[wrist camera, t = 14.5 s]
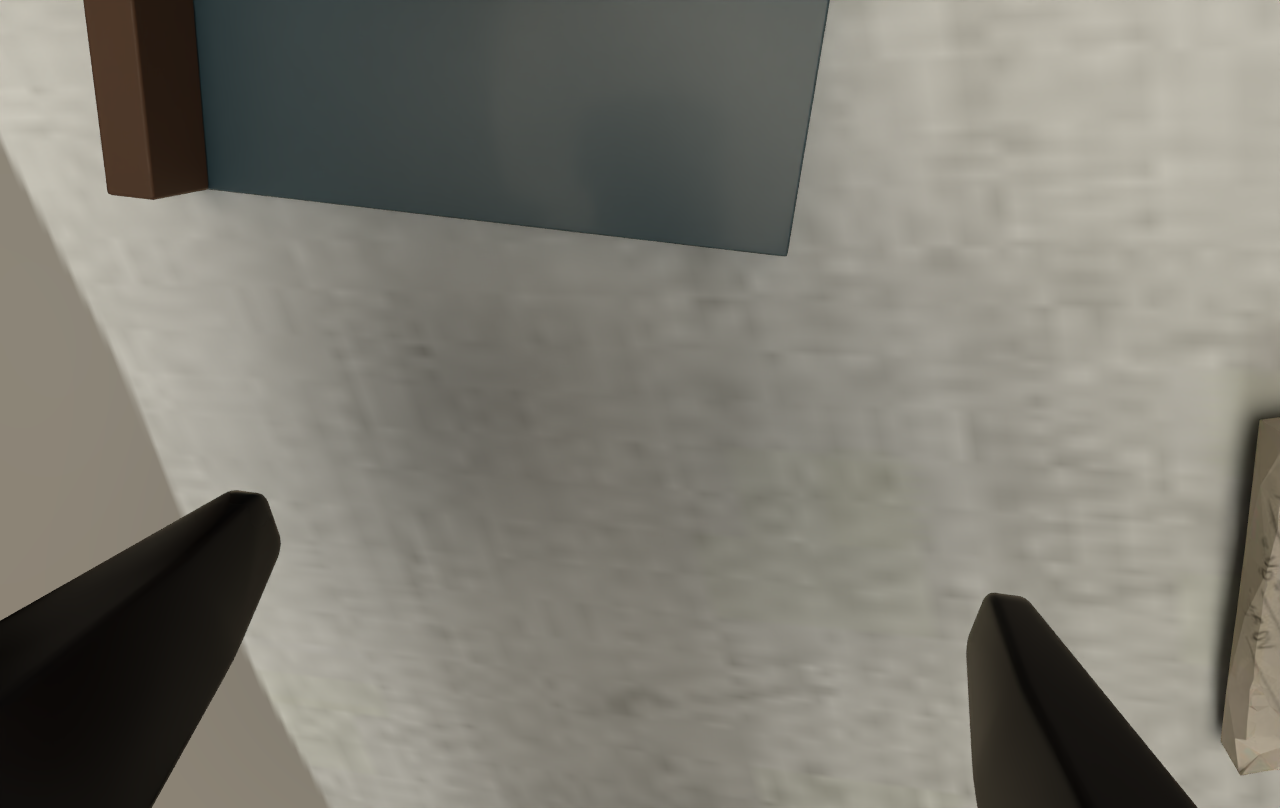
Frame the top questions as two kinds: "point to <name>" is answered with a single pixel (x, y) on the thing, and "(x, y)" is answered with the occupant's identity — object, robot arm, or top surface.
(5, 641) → the robot arm
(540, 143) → the board
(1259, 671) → the packaged product
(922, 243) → the top surface
